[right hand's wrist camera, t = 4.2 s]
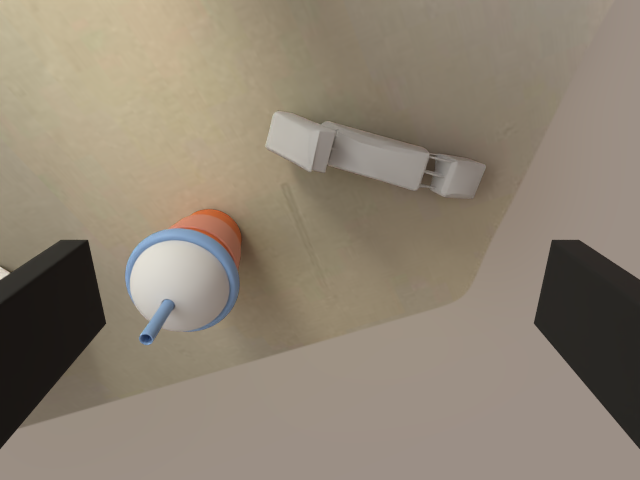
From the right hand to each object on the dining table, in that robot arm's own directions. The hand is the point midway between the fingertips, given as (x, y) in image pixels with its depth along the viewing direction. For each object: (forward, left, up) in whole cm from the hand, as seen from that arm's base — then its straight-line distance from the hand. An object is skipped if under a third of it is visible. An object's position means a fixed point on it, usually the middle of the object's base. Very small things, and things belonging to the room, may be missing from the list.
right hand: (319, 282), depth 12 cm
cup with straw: (-9, -12, -30) cm, 34 cm away
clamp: (+5, 0, -30) cm, 31 cm away
